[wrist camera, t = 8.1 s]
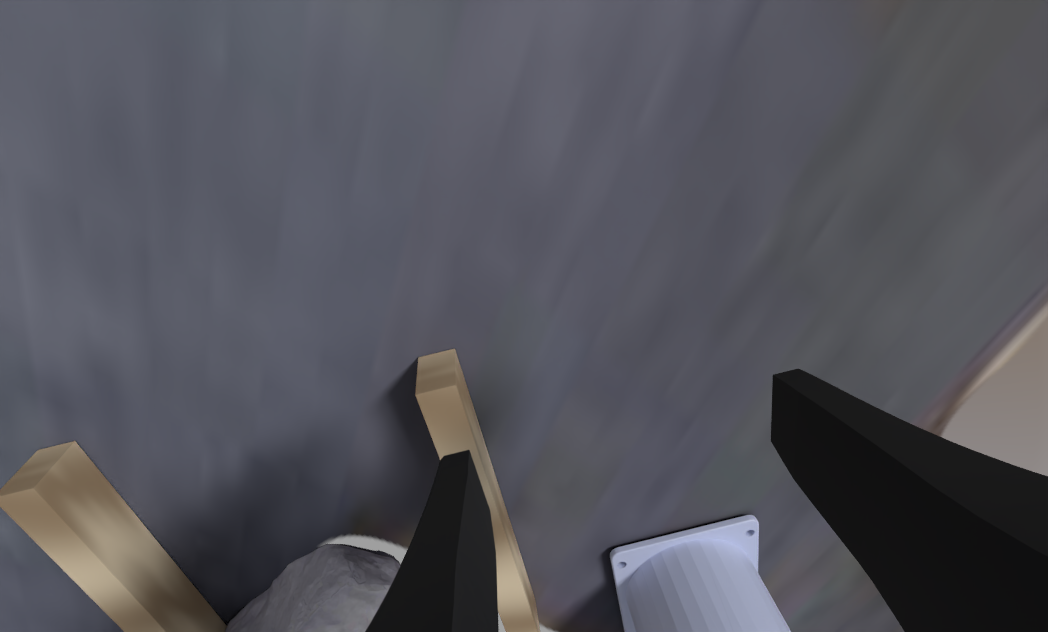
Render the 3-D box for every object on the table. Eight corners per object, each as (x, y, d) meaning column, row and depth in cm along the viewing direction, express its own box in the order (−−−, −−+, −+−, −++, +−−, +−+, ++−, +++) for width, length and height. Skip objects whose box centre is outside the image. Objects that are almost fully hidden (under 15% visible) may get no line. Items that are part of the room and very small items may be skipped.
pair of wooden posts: (535, 600, 30) (542, 645, 28) (235, 675, 30) (218, 726, 28) (454, 348, 22) (456, 385, 20) (37, 450, 22) (-8, 498, 19)
